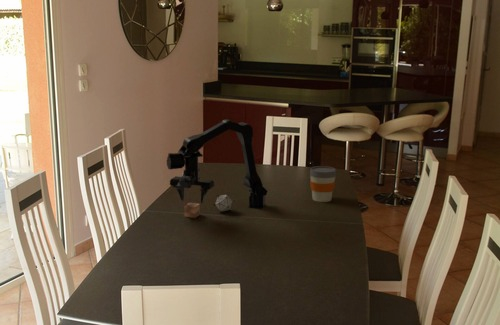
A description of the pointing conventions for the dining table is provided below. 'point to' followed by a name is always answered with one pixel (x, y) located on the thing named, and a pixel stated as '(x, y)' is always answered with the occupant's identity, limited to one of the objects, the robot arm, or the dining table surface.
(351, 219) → the dining table surface
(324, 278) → the dining table surface
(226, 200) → the game die
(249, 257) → the dining table surface
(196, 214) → the terracotta block
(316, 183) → the reusable coffee cup
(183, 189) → the robot arm
